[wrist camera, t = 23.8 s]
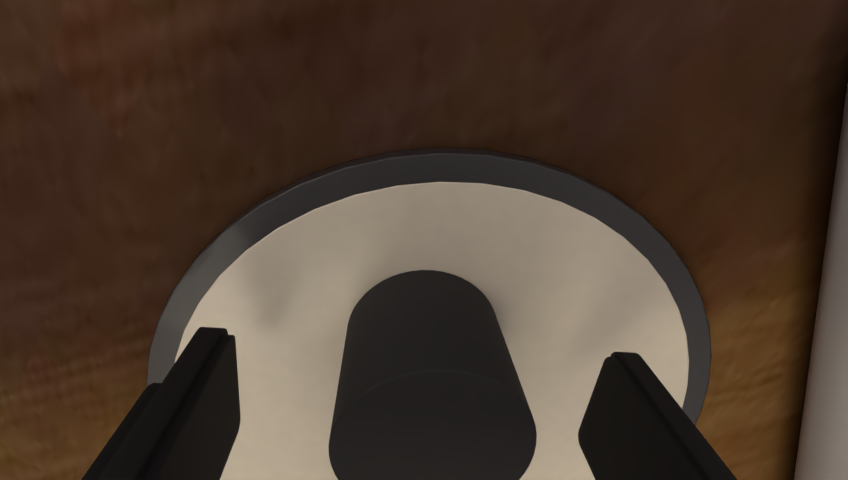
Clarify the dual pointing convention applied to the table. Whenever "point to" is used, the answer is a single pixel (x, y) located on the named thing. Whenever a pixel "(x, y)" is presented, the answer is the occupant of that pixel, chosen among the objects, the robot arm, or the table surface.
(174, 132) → the table surface
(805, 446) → the tube
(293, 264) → the face circle
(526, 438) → the eye dot
